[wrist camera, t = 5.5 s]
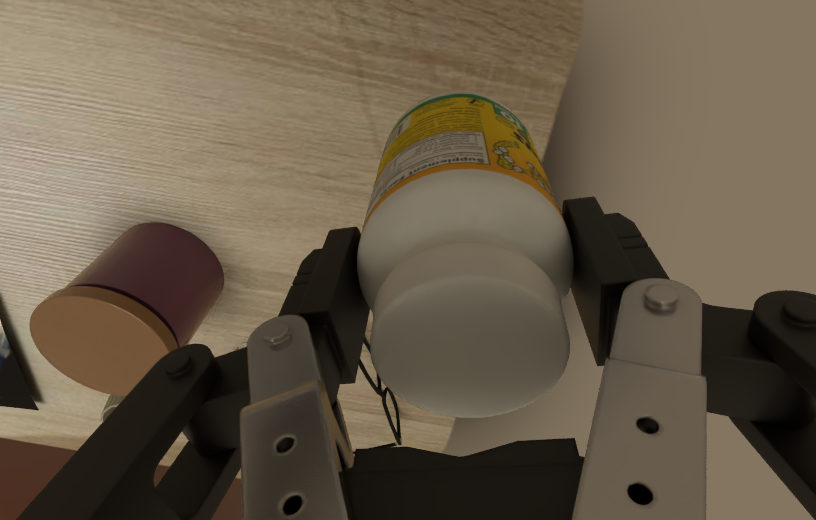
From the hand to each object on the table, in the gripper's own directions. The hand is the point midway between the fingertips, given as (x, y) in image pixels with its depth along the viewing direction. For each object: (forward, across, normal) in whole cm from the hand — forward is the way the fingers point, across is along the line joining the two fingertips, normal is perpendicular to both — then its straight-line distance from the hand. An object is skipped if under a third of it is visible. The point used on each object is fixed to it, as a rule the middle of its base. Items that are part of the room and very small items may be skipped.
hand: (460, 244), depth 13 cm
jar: (+24, +29, +14) cm, 40 cm away
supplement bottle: (+6, 0, 0) cm, 6 cm away
